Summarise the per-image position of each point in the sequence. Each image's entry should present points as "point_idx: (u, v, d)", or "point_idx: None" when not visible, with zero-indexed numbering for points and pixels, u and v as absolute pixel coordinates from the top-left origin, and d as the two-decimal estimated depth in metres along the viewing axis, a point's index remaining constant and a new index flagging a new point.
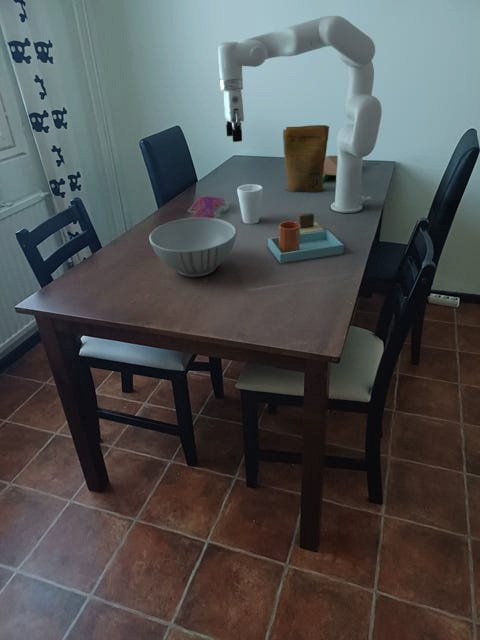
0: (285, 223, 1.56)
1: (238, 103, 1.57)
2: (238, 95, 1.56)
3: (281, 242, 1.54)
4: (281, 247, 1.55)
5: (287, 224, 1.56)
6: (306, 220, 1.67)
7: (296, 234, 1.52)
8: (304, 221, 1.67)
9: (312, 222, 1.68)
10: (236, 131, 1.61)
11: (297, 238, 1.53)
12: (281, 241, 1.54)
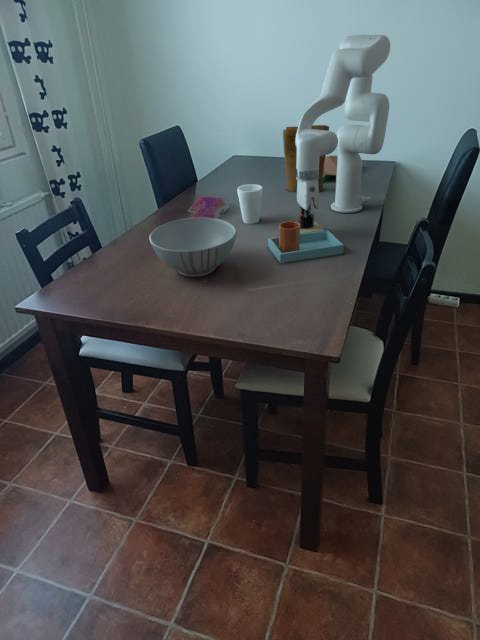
0: (285, 223, 1.56)
1: (315, 193, 1.58)
2: (315, 185, 1.57)
3: (281, 242, 1.54)
4: (281, 247, 1.55)
5: (287, 224, 1.56)
6: None
7: (296, 234, 1.52)
8: None
9: (312, 222, 1.68)
10: (307, 219, 1.65)
11: (297, 238, 1.53)
12: (281, 241, 1.54)
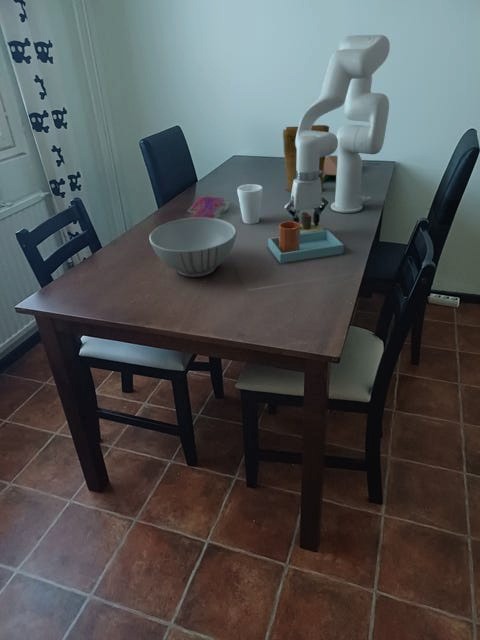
0: (285, 223, 1.56)
1: None
2: None
3: (281, 242, 1.54)
4: (281, 247, 1.55)
5: (287, 224, 1.56)
6: None
7: (296, 234, 1.52)
8: None
9: None
10: None
11: (297, 238, 1.53)
12: (281, 241, 1.54)
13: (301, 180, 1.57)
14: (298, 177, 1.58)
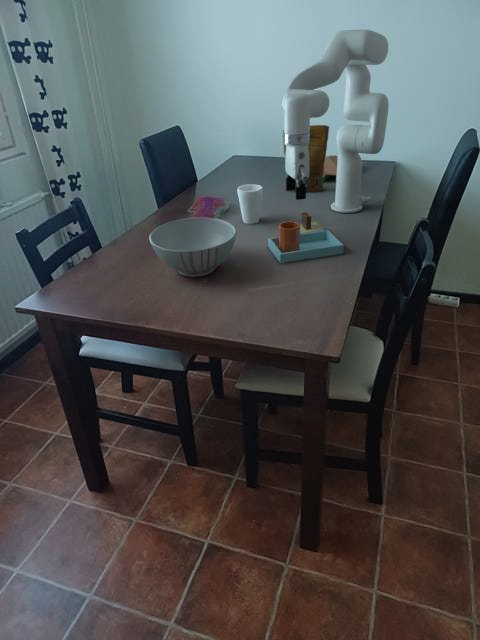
0: (285, 223, 1.56)
1: (304, 159, 1.42)
2: (305, 151, 1.41)
3: (281, 242, 1.54)
4: (281, 247, 1.55)
5: (287, 224, 1.56)
6: None
7: (296, 234, 1.52)
8: None
9: None
10: (300, 189, 1.46)
11: (297, 238, 1.53)
12: (281, 241, 1.54)
13: None
14: None
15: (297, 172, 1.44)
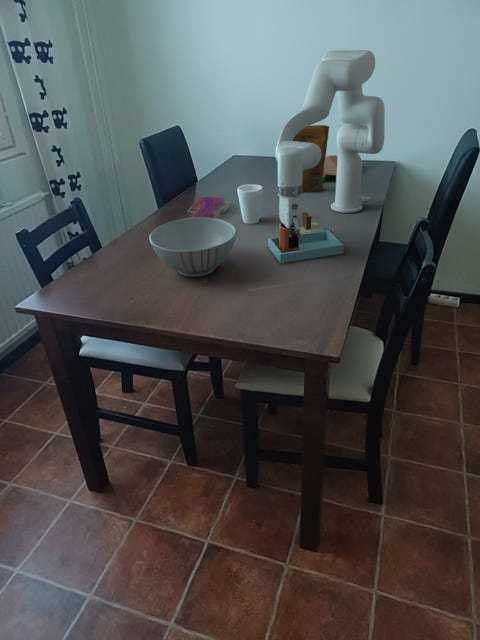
0: None
1: (297, 210, 1.46)
2: (298, 202, 1.45)
3: (281, 242, 1.54)
4: (281, 247, 1.55)
5: None
6: None
7: None
8: None
9: None
10: (293, 239, 1.51)
11: None
12: (281, 241, 1.54)
13: None
14: None
15: (290, 222, 1.47)
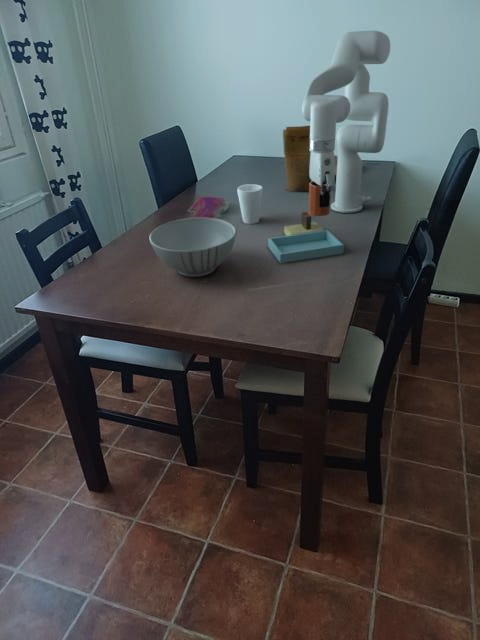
0: None
1: (330, 166, 1.41)
2: (331, 157, 1.40)
3: (311, 201, 1.49)
4: (311, 206, 1.50)
5: None
6: None
7: None
8: None
9: None
10: (324, 196, 1.46)
11: None
12: (311, 200, 1.49)
13: None
14: None
15: (322, 178, 1.42)
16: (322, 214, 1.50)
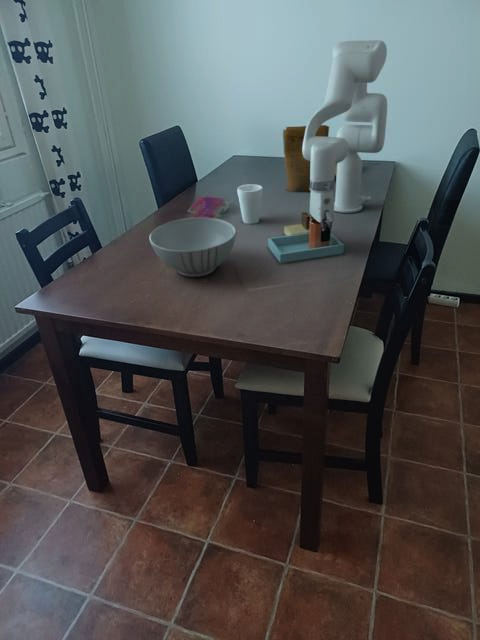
0: (315, 219, 1.57)
1: (329, 205, 1.47)
2: (330, 197, 1.46)
3: (311, 238, 1.56)
4: (311, 243, 1.57)
5: None
6: None
7: None
8: None
9: None
10: (325, 232, 1.51)
11: None
12: (311, 237, 1.56)
13: None
14: None
15: (322, 217, 1.49)
16: None
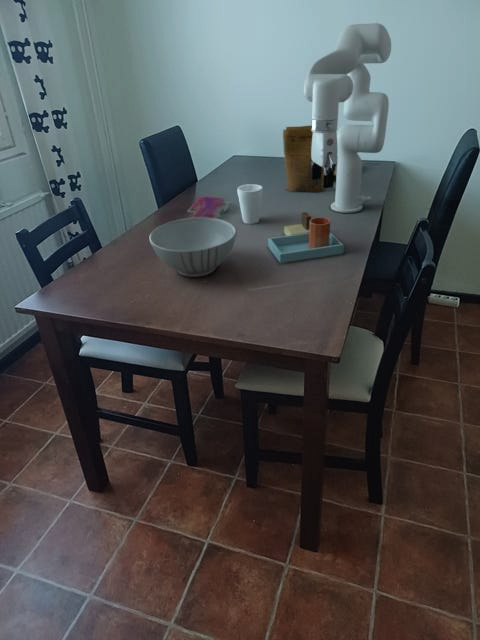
0: (315, 219, 1.57)
1: (333, 146, 1.38)
2: (333, 137, 1.37)
3: (311, 238, 1.56)
4: (311, 243, 1.57)
5: (317, 220, 1.58)
6: None
7: (326, 230, 1.54)
8: None
9: None
10: (328, 177, 1.42)
11: (327, 234, 1.55)
12: (311, 237, 1.56)
13: None
14: None
15: (325, 159, 1.39)
16: None
